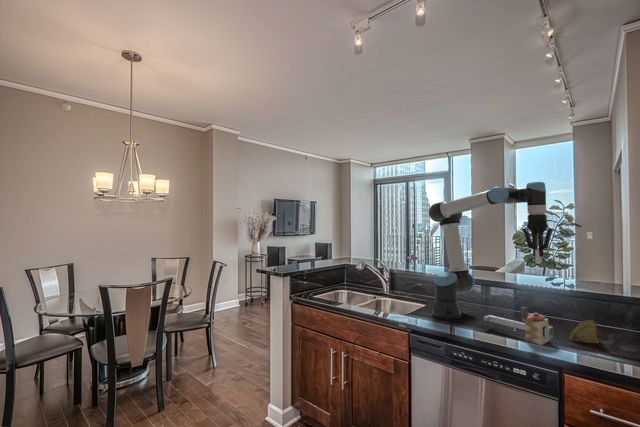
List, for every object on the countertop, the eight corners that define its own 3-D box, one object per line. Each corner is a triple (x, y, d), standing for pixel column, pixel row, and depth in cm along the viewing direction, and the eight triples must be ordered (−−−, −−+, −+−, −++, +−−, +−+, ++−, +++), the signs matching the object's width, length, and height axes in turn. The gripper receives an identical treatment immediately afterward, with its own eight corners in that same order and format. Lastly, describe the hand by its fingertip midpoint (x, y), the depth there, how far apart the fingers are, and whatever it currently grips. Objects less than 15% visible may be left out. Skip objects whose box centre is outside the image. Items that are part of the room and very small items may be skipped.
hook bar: (483, 323, 153) (483, 314, 153) (489, 320, 157) (489, 311, 157) (548, 339, 131) (548, 329, 131) (554, 336, 134) (553, 326, 134)
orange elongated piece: (534, 315, 141) (533, 303, 141) (548, 319, 136) (547, 306, 136) (515, 319, 136) (515, 306, 137) (529, 323, 131) (529, 309, 131)
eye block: (525, 340, 137) (524, 319, 137) (533, 336, 142) (532, 315, 142) (541, 345, 132) (540, 322, 132) (548, 340, 137) (548, 319, 137)
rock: (566, 336, 135) (596, 339, 128) (565, 317, 140) (594, 319, 133) (572, 346, 141) (601, 349, 134) (571, 328, 145) (599, 330, 138)
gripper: (518, 214, 154) (520, 262, 153) (549, 213, 143) (551, 265, 142) (525, 214, 158) (526, 261, 157) (556, 213, 147) (557, 263, 147)
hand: (538, 263), depth 150 cm, fingers closed
